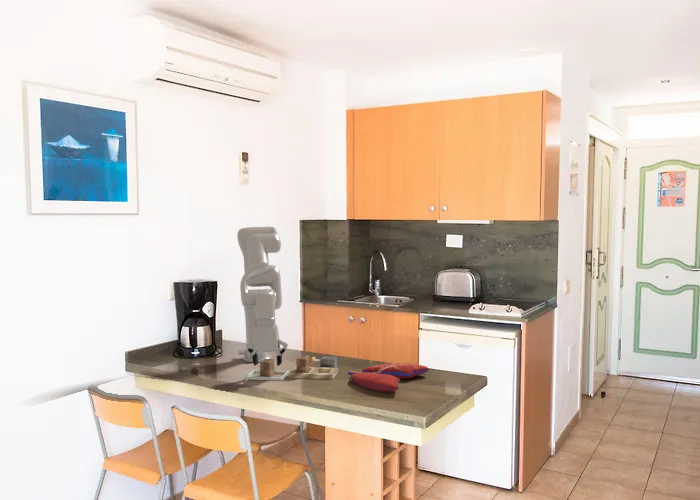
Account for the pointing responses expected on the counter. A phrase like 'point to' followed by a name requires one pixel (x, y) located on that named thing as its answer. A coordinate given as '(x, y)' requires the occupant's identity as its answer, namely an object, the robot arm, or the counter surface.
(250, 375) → the tote
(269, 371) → the block
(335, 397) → the counter surface
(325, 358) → the grey metal housing
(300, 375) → the pallet
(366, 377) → the anatomical model
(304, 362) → the block
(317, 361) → the plunger
